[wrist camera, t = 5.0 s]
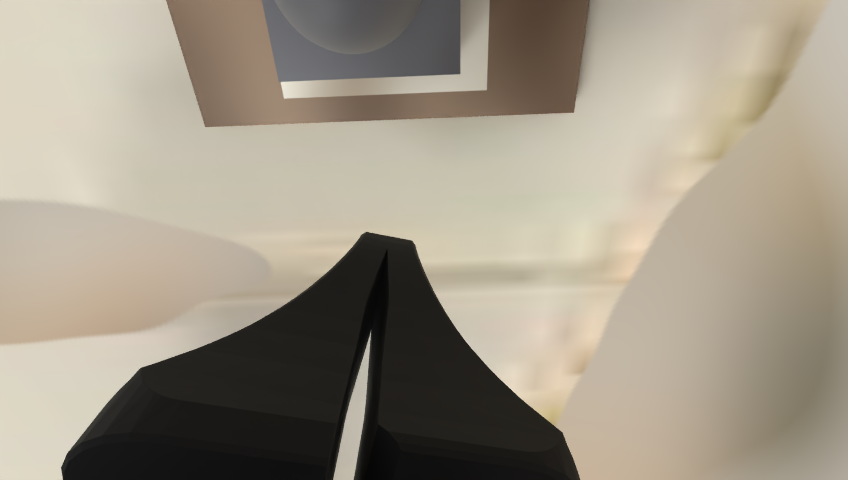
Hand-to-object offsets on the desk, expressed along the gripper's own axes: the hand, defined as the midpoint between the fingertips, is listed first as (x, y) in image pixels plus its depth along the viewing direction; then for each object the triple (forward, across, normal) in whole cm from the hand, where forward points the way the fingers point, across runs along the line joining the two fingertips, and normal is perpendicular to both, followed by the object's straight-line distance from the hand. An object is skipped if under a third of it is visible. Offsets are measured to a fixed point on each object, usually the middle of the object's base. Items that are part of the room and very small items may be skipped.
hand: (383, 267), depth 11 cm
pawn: (+4, +2, -6) cm, 8 cm away
